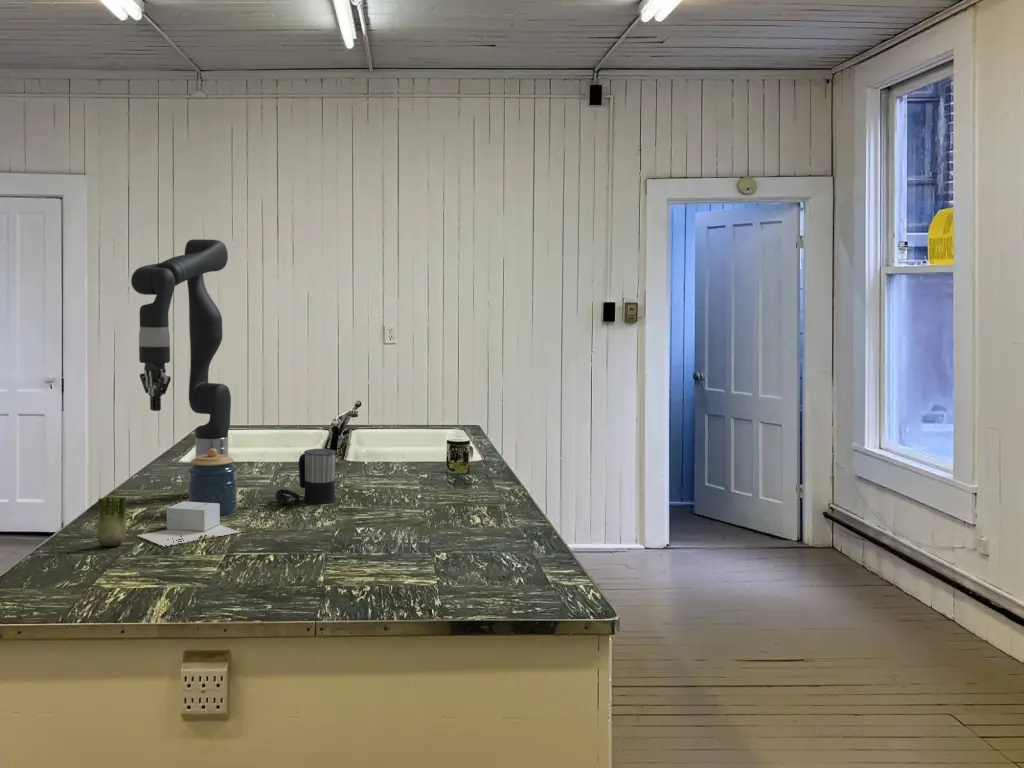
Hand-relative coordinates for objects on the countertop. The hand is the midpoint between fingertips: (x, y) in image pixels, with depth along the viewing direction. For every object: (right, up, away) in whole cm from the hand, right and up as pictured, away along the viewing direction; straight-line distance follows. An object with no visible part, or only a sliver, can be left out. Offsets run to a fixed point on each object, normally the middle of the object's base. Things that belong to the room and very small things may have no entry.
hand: (155, 410), depth 243 cm
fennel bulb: (-1, -32, -24) cm, 40 cm away
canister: (+11, -28, +12) cm, 33 cm away
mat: (+13, -31, -13) cm, 36 cm away
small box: (+7, -27, -6) cm, 28 cm away
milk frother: (+34, -28, +26) cm, 51 cm away
